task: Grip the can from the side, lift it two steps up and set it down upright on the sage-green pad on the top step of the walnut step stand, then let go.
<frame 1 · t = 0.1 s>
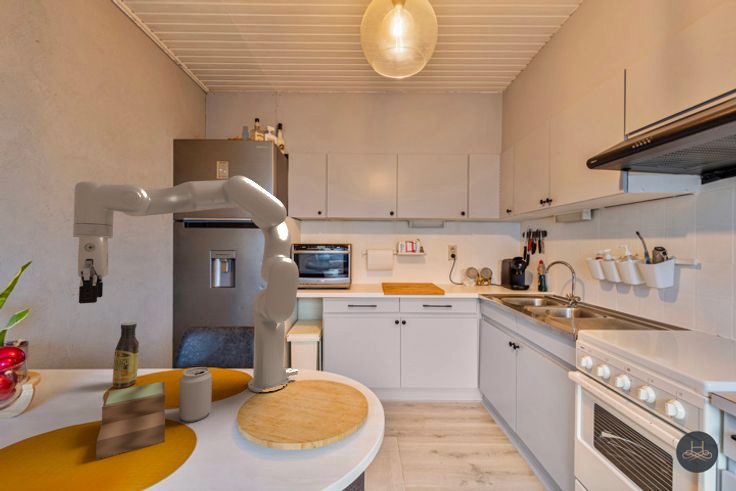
hand: (91, 300, 79), 31 cm above the table, tool pointing down, fingers open, 9 cm apart
sauce bottle: (125, 385, 101), on the table
can: (195, 416, 83), on the table
step stand: (134, 432, 75), on the table
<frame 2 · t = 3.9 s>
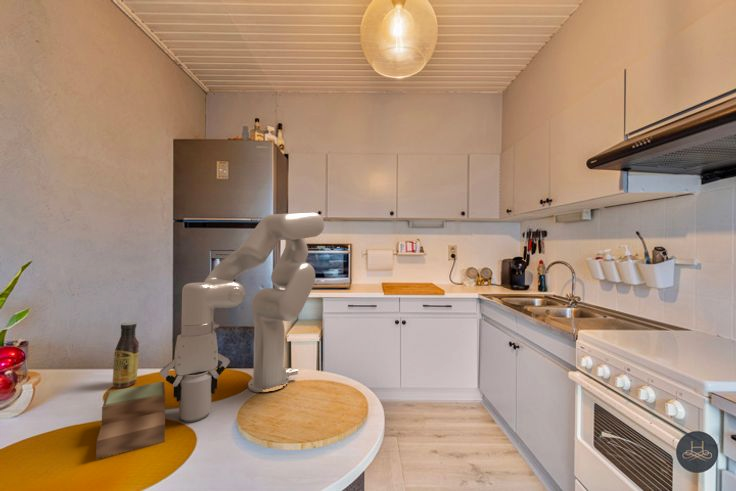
hand: (195, 395, 83), 5 cm above the table, tool pointing down, fingers closed on can, 7 cm apart
can: (195, 416, 83), on the table, touching gripper
everything else where it was.
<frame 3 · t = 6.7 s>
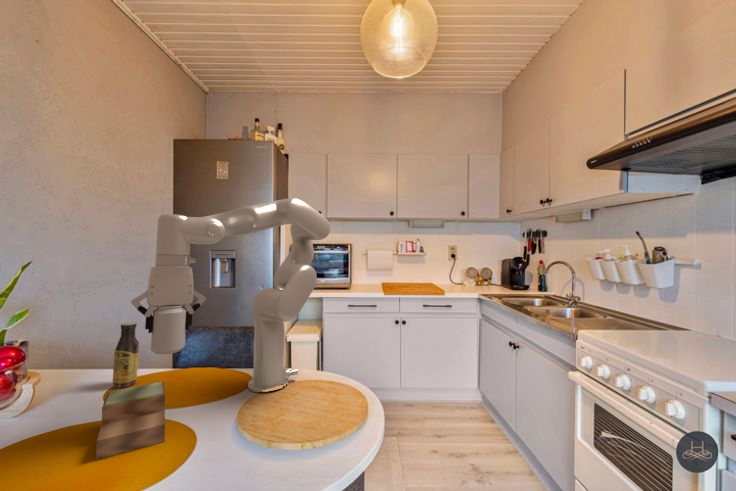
hand: (168, 329, 81), 23 cm above the table, tool pointing down, fingers closed on can, 7 cm apart
can: (167, 351, 81), point 18 cm above the table, touching gripper
everything else where it was.
when the fingers open (15 cm above the table, at t = 9.6 s): can stays where it is, resting on step stand.
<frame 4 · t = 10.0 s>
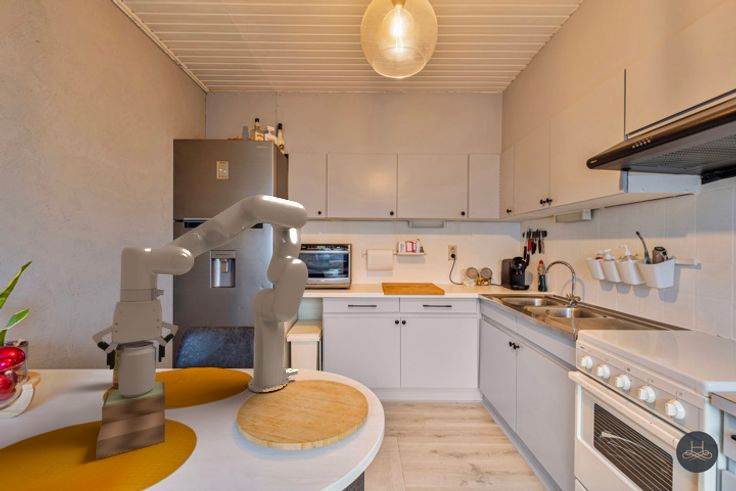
hand: (136, 364, 78), 15 cm above the table, tool pointing down, fingers open, 9 cm apart
can: (137, 392, 78), point 8 cm above the table, touching step stand
everything else where it was.
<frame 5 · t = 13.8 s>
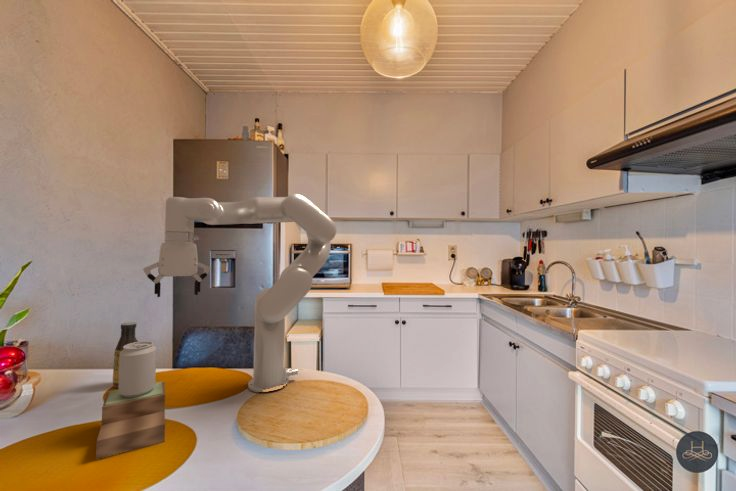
hand: (177, 295, 94), 30 cm above the table, tool pointing down, fingers open, 9 cm apart
nothing on the table moved.
at the end: can inside the target area on the step stand (0.2 cm from its centre), point 8.1 cm above the step stand's base; can tilted 0°; the gripper is holding nothing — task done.
